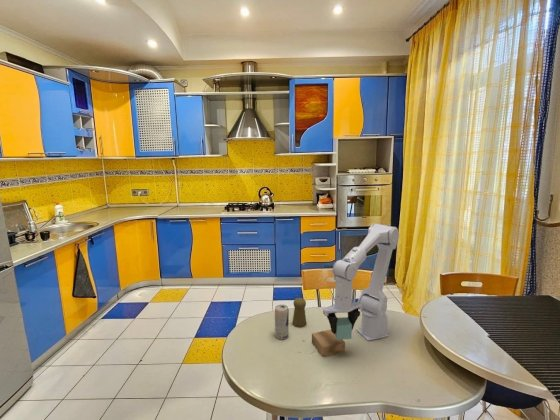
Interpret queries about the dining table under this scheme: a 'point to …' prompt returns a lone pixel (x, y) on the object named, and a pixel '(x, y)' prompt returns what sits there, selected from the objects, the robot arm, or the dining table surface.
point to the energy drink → (281, 321)
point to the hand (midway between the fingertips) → (342, 330)
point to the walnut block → (327, 343)
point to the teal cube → (343, 328)
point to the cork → (299, 313)
